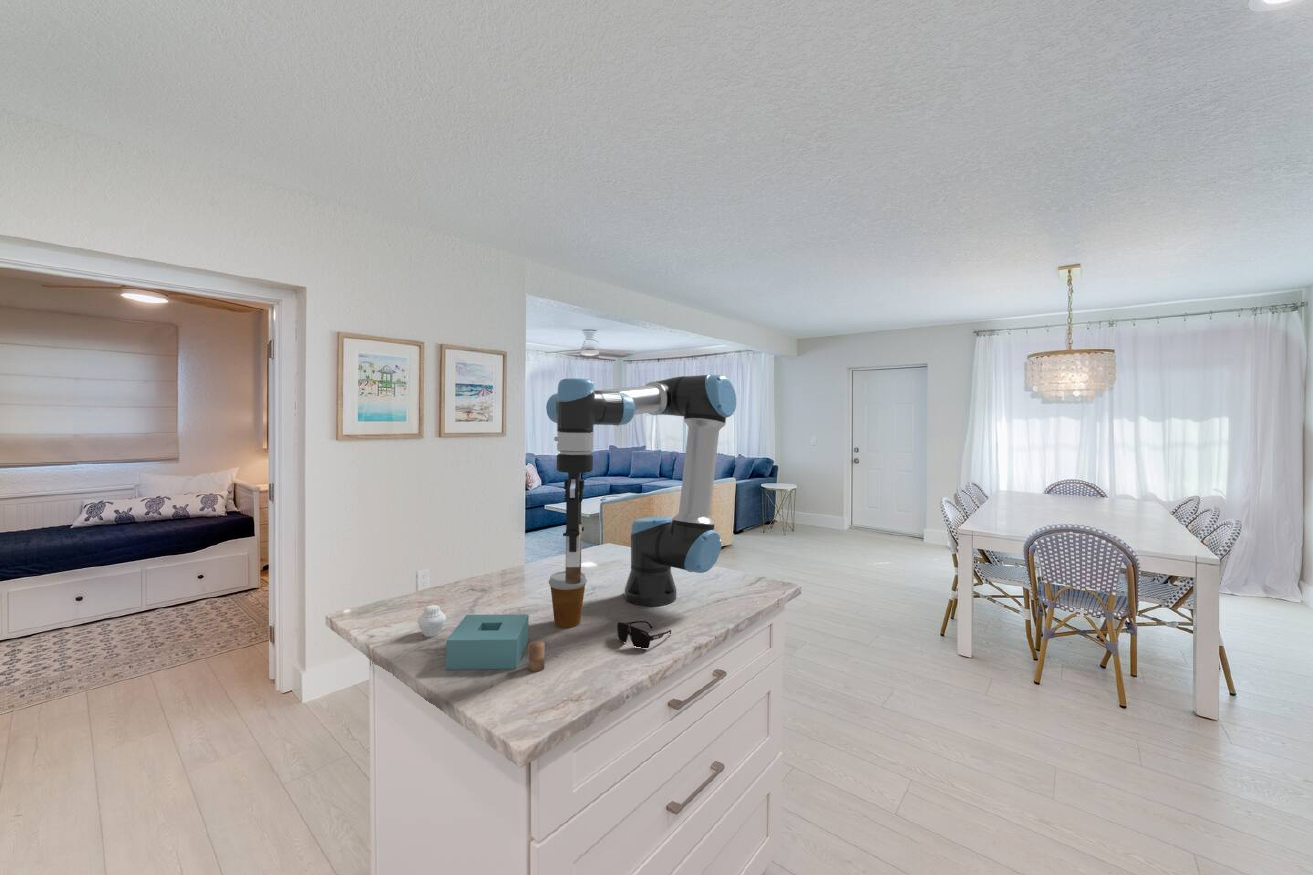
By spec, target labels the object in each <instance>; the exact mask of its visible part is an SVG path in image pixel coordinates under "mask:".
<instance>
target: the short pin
mask: <svg viewBox="0 0 1313 875" xmlns="http://www.w3.org/2000/svg"><path fill="white" fill-rule="evenodd" d="M545 644H546V643H545V642H544V641H541V640H537V641H536V640H535V641H530V642H529V643H528V657H527V658H528V660H527V661H528V664H527V665H528V671H530V672H532V673H538V672H542V671H543V670H545V658H546V656H545V655H546V654H545V649H546V648H545Z"/></svg>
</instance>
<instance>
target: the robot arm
mask: <svg viewBox="0 0 1313 875" xmlns="http://www.w3.org/2000/svg"><path fill="white" fill-rule="evenodd" d="M545 406H546V407H545V408H546V409H545V410H546V414H547V417H548V418H549V419H550V421H552V422H553V423H554V424H556V428H557V429H556V431H557V436H554V438H553V440H554V441H555V442H557V443H556V449H557V450H556V451H558V452H559V453H557V455H556V471H557V472H559V473H567V479H565V481H564V484H563V486H564V491H565V493H564V494H565V495H564V496H565V497H564V501H565V502H566V506H565V517H566V518H565V524H566V526H565V532H563V533H562V536H563V537H565V568H566V567H579V566H580V535H579V534H580V532H579V524H581V525H582V502H583V499H584V488H585V479H582V474H585V473H590V472H593V470H594V456H593V454H592V452H593V451H594V439H595V438H594V436H595V435H594V433H595V432H594V427H595V426H596V425H598V426H617V427H619V426H623V425H624V426H625V425H628V424H629V423H630V422H631V421H632V420H633V418H634V416H635V415H642V414H649V415H651V416H659V415H660V416H661V415H663V416H673V417H674V416H677V417H684V418H683V421H684V423H685V424H686V426H687V427H688V429H687V437H686V446H685V453H684V454H685V455H684V463H683V472H682V482H681V489H680V490H681V492H680V497H679V498H680V500H679V507H678V513H677V514H676V515H674V517H671V516H651V517H642V518H638V519H635V520H634V521H633V522H632V524H631V533H630V571H629V574H628V578H627V581H626V583H625V587H624V595H623V596H624V599H625V600H626V602H629V603H631V604H635V605H638V606H646V607H647V606H650V607H651V606H653V607H654V606H664V605H669V604H671V603H674V602H675V601H676V599H677V593H678V592H677V587H676V583H675V581H674V576H673V574H672V568H675V569H679V570H684V571H686V572H689V573H697V574H704V573H706V572H709V571H710V570H711V569H712V568H713V567H714V565H716V563H717V561H718V559H719V557H720V555H721V554H720V553H721V549H722V539H721V534H719V532H717V531H716V530H715V522H714V520H713V519H712V518H711V511H712V510H711V509H712V502H713V501H712V500H713V490H714V480H715V472H716V464H717V453H718V444H719V437H720V436H719V435H720V430H721V429H723V428H724V427H725V426H726V423H727V418H730V417H731V416H733V415H734V412H735V411H736V408H737V395H736V390H735V387H734V386H733V383H732V381H731V380H730V379H729V378H728V377H726V376H725V375H720V374H711V373H709V374H705V375H704V374H703V375H687V376H685V375H684V376H683V375H682V376H676V377H671V378H666V379H662V380H656V381H650V382H647V383H646V384H645V385H640V386H639V385H638V386H631V387H630V386H629V387H620V388H606V389H597V390H596V388H595V383H594V381H593V380H592V379H589V378H588V379H587V378H562V379H560V381H558V386H557V392H556V393H554V394H551V395H550V397H549V398H548V400H547V402H546V405H545ZM594 425H595V426H594ZM584 531H585V527H584V526H583V525H582V532H584ZM674 600H675V601H674Z"/></svg>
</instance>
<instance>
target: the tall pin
mask: <svg viewBox="0 0 1313 875" xmlns="http://www.w3.org/2000/svg"><path fill="white" fill-rule="evenodd" d="M582 527H583V525H581V524H579V532H580V534H579V535H580V566H579V567H566V566H565V571H566V572H565V583H567V584H578V583H580V582H581V572H582V532H583V531H582Z"/></svg>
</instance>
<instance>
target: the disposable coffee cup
mask: <svg viewBox="0 0 1313 875" xmlns="http://www.w3.org/2000/svg"><path fill="white" fill-rule="evenodd" d="M565 572H566V570H564V571H558V572H554V573H552V574H551V575H550V577H549V579H548V584H549V586H550V592H551V602H552V604H551V605H552V611H553V619H554V620H553V621H554V625H555V626H556V627H558V628H563V629H567V628H575V627H577V626H579V625H580V623H581V617H582V611H583V603H584V595H585V588H586V585H587V582H588V579H587V577H586V574H585V573H584V572H582V571H581V582H580V583H578V584H567V583H565Z"/></svg>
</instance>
